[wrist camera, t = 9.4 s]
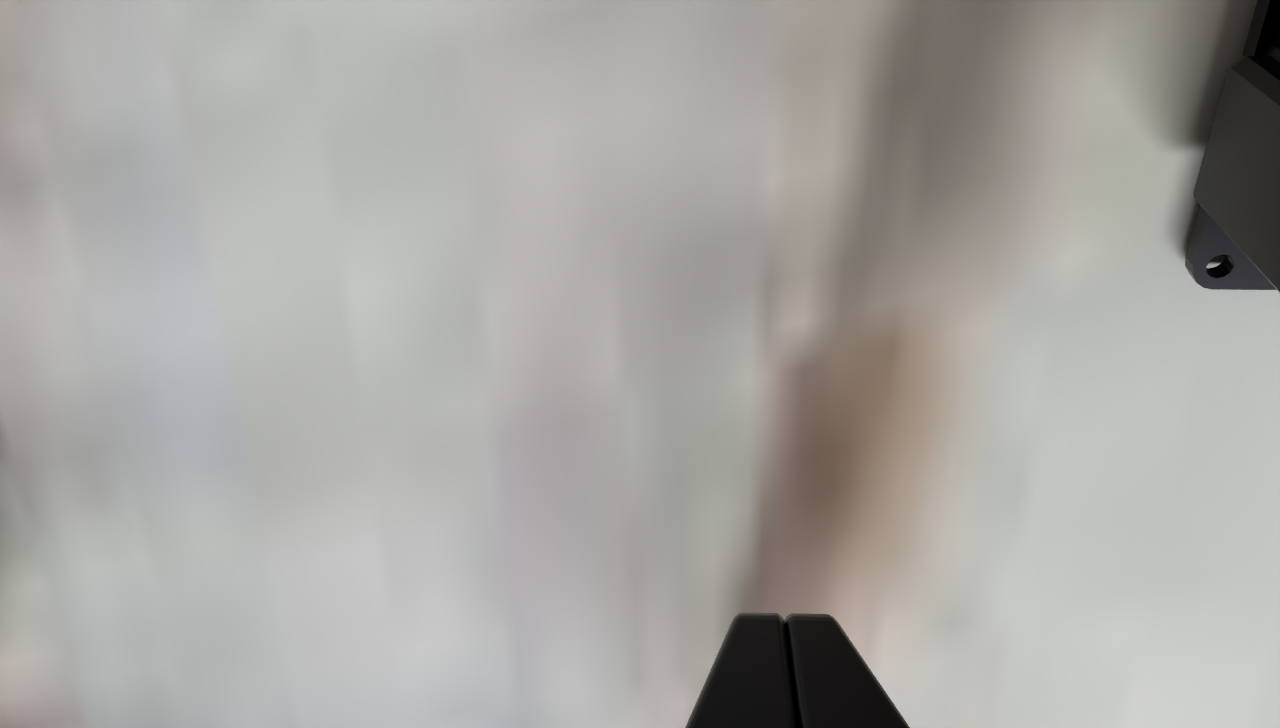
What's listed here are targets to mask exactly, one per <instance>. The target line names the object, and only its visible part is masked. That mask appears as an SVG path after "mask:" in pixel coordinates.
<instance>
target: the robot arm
mask: <svg viewBox="0 0 1280 728" xmlns="http://www.w3.org/2000/svg"><path fill="white" fill-rule="evenodd" d="M1194 197H1195V199H1196V200H1197V201H1198V203H1199V204H1200V208H1199V211H1198V215H1197V218H1196V222H1195V225H1194V229H1193V233H1192V236H1191V240H1190V243H1189V247H1188V250H1187V254H1186V261H1185V266H1186V268H1187V270H1188V272H1189V274H1190V275H1191V276H1192V277H1193V279H1194V280H1195V281H1196V283H1198V284H1199V285H1201V286H1202V287H1204V288H1209V289H1241V290H1278V292H1279V293H1280V0H1258V2H1257V5H1256V9H1255V12H1254V16H1253V19H1252V23H1251V26H1250V30H1249V34H1248V37H1247V41H1246V44H1245V48H1244V51H1243V55H1242V56H1241V57H1240V58H1239V59H1238V60H1237V61H1236V62H1235V63H1234V64H1233V65H1232V66H1231V67H1230V68H1229V69H1228V71H1227V74H1226V77H1225V81H1224V85H1223V88H1222V92H1221V96H1220V99H1219V103H1218V106H1217V110H1216V114H1215V117H1214V121H1213V125H1212V128H1211V132H1210V135H1209V139H1208V143H1207V146H1206V150H1205V153H1204V157H1203V161H1202V164H1201V168H1200V172H1199V175H1198V179H1197V182H1196V186H1195V190H1194ZM1223 254H1225V255H1226V257H1225V259H1224V260H1223V262H1222V263H1221V264H1220V265H1218V266H1217V267H1214V268H1209V269H1208V268H1206V266H1207V264H1208V263H1209V261H1210V260H1211V259H1213V258H1214V257H1215V256H1218V255H1223ZM685 728H910V727H909V726H908V724H907V723H906V721H905V720H904V718H903V717H902V715H901V714H900V712H899V711H898V710H897V708H896V707H895V705H894V704H893V702H892V701H891V699H890V698H889V696H888V695H887V693H886V692H885V691H884V689H883V688H882V686H881V685H880V683H879V682H878V680H877V679H876V677H875V676H874V674H873V673H872V672H871V670H870V669H869V667H868V666H867V664H866V663H865V661H864V660H863V658H862V657H861V655H860V654H859V652H858V651H857V650H856V648H855V647H854V645H853V644H852V642H851V641H850V639H849V638H848V636H847V635H846V633H845V632H844V631H843V629H842V628H841V626H840V625H839V623H838V622H837V621H836V620H835V619H834V618H833V617H832V616H830V615H827V614H790V615H788V616H787V617H786V618H785V620H783V618H782V616H780V615H779V614H776V613H739V614H737V615H736V616H735V618H734V619H733V621H732V623H731V625H730V627H729V630H728V632H727V634H726V636H725V639H724V641H723V643H722V646H721V648H720V650H719V652H718V655H717V657H716V659H715V661H714V664H713V666H712V668H711V671H710V673H709V675H708V677H707V680H706V682H705V684H704V686H703V689H702V691H701V693H700V695H699V698H698V700H697V702H696V705H695V707H694V709H693V711H692V714H691V716H690V718H689V720H688V723H687V725H686V727H685Z"/></svg>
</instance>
